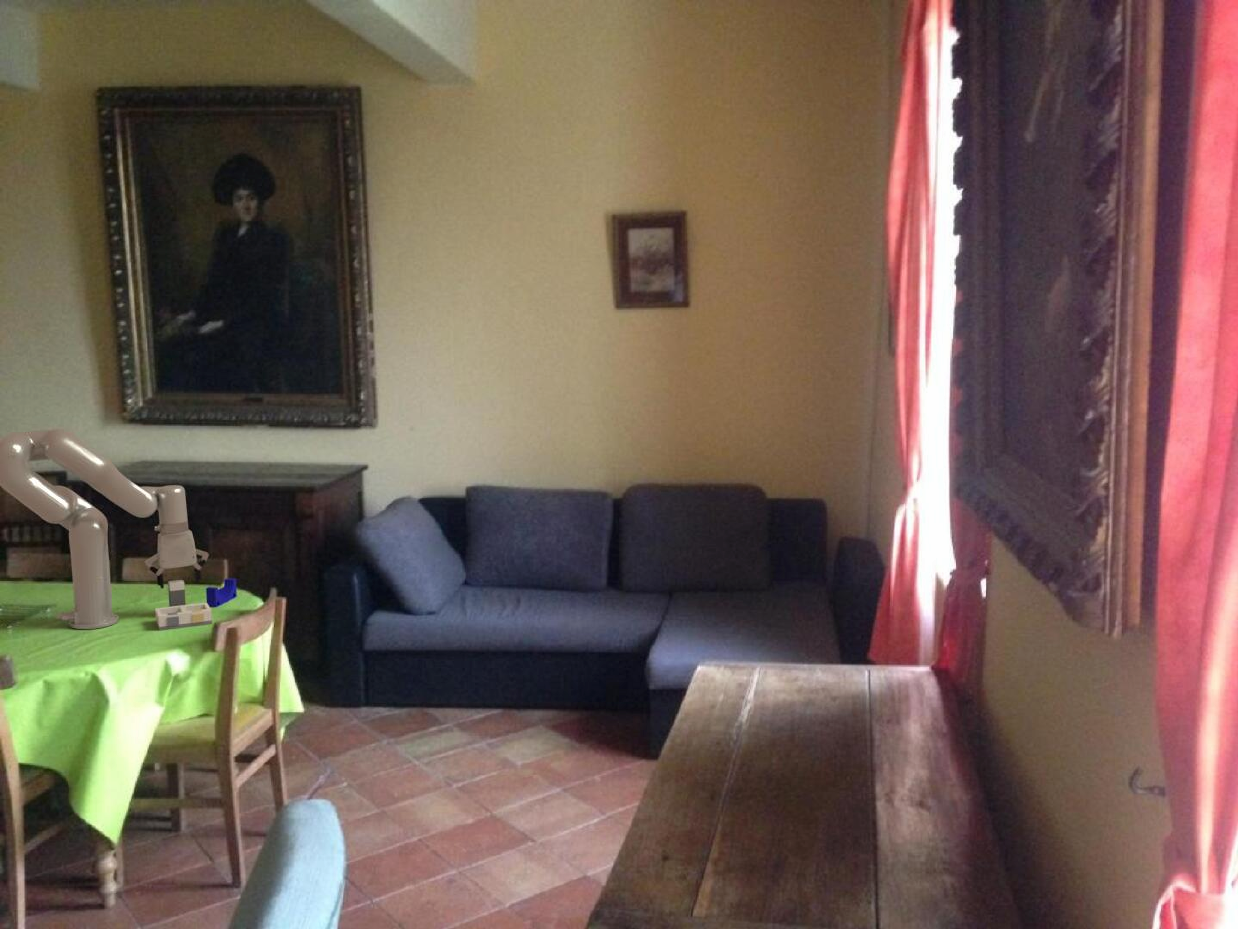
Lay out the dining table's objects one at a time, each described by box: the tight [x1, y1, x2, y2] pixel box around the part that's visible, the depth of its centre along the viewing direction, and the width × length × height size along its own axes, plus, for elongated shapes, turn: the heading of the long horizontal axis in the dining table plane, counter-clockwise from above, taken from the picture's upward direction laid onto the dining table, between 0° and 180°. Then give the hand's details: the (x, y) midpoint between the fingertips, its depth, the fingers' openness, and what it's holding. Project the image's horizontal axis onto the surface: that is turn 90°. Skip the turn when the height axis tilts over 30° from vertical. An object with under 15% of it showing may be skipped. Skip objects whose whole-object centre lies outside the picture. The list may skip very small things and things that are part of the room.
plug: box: [167, 579, 187, 607], centre depth 312 cm, size 4×4×10 cm
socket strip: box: [154, 601, 213, 631], centre depth 304 cm, size 14×9×4 cm, turn 119°
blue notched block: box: [205, 577, 238, 608], centre depth 326 cm, size 12×4×6 cm, turn 170°
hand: (179, 584), depth 311 cm, fingers open, 9 cm apart
